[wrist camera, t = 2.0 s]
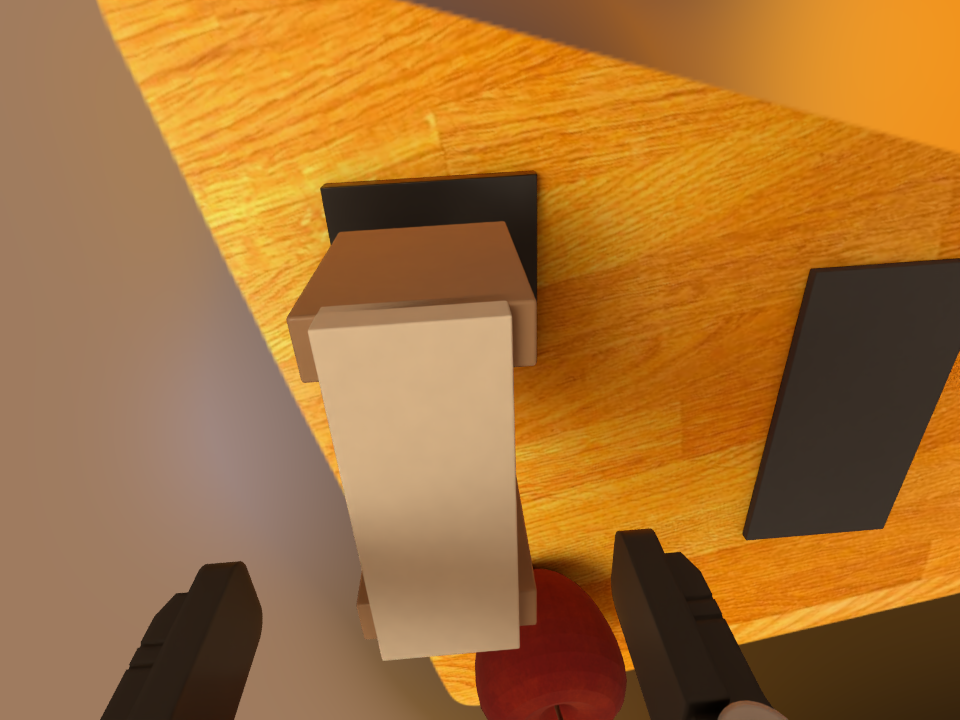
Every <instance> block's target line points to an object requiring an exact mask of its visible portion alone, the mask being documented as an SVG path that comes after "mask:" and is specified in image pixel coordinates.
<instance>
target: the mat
mask: <svg viewBox="0 0 960 720" xmlns="http://www.w3.org/2000/svg"><path fill="white" fill-rule="evenodd" d="M959 351H960V259H947V260H932V261H918V262H904V263H890V264H875V265H861V266H847V267H833V268H818V269H811V270H810V274H809V277H808V281H807V285H806V289H805V293H804V297H803V301H802V305H801V309H800V312H799V316H798V320H797V324H796V328H795V332H794V336H793V340H792V344H791V347H790V351H789V355H788V359H787V363H786V367H785V371H784V375H783V379H782V382H781V386H780V390H779V394H778V398H777V402H776V406H775V410H774V414H773V417H772V421H771V425H770V429H769V433H768V437H767V441H766V445H765V449H764V452H763V456H762V460H761V464H760V468H759V472H758V476H757V480H756V484H755V488H754V491H753V495H752V499H751V503H750V507H749V511H748V515H747V519H746V523H745V526H744V530H743V536H744V537H745V539H746V540H756V539H768V538H779V537H791V536H803V535H815V534H827V533H838V532H850V531H862V530H874V529H883V528H884V525H885V523H886V521H887V518H888V516H889V514H890V511H891V509H892V507H893V504H894V502H895V500H896V497H897V495H898V493H899V490H900V488H901V486H902V483H903V481H904V479H905V476H906V474H907V472H908V470H909V467H910V465H911V463H912V460H913V458H914V456H915V453H916V451H917V449H918V446H919V444H920V442H921V439H922V437H923V435H924V432H925V430H926V428H927V425H928V423H929V421H930V418H931V416H932V414H933V411H934V409H935V407H936V404H937V402H938V400H939V397H940V395H941V393H942V390H943V388H944V386H945V383H946V381H947V379H948V376H949V374H950V372H951V369H952V367H953V365H954V362H955V360H956V358H957V355H958V353H959Z"/></svg>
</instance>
